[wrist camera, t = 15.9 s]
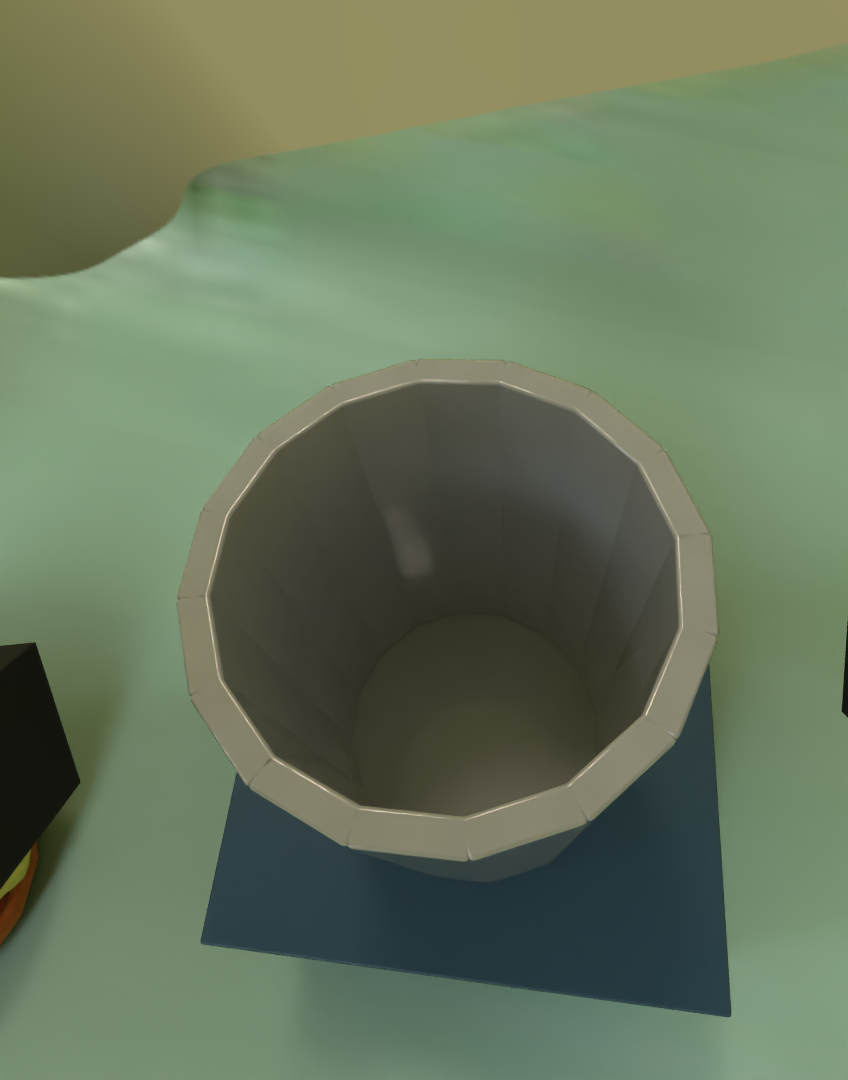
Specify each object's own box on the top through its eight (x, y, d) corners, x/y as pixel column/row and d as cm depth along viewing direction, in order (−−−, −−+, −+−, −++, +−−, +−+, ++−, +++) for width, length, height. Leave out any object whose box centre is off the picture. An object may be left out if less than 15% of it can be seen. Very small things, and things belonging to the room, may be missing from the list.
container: (278, 933, 24) (198, 944, 18) (335, 607, 30) (288, 528, 23) (671, 986, 23) (732, 1018, 16) (659, 628, 28) (702, 549, 22)
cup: (319, 863, 19) (113, 821, 9) (361, 598, 22) (242, 354, 12) (612, 898, 18) (738, 893, 8) (611, 614, 21) (700, 362, 11)
